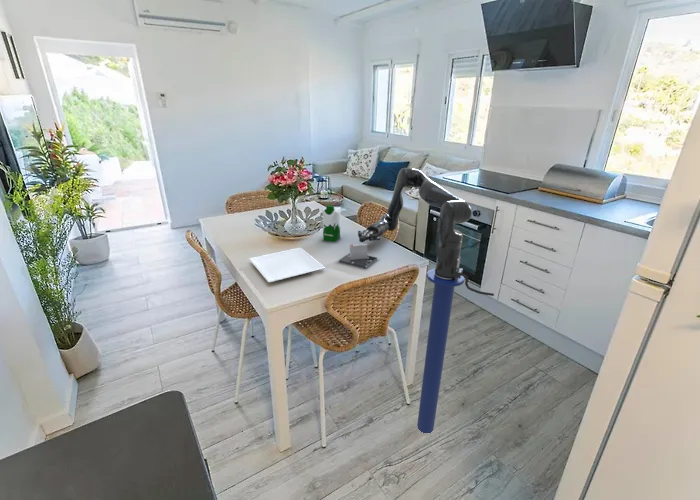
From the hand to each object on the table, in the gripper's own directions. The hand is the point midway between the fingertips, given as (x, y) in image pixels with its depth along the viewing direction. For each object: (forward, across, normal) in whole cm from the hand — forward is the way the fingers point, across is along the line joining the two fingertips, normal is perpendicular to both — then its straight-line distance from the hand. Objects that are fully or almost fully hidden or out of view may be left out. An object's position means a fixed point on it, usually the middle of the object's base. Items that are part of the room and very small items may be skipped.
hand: (360, 240), depth 170 cm
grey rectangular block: (+8, +3, +6) cm, 11 cm away
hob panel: (+8, +3, +8) cm, 12 cm away
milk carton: (-10, -23, +8) cm, 26 cm away
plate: (+30, -22, +8) cm, 38 cm away
